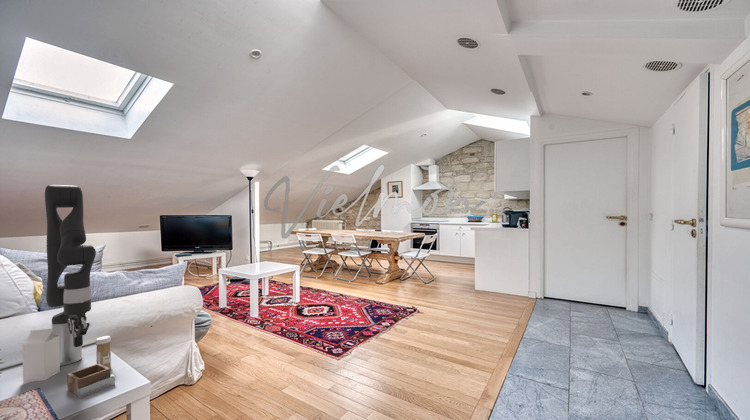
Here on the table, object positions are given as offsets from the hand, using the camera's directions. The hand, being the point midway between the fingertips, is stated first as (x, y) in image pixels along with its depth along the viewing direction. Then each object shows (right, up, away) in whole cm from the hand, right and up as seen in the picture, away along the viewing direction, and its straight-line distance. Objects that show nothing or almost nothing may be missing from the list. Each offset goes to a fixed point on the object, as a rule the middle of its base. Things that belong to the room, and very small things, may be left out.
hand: (78, 346), depth 121 cm
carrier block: (+8, -13, -5) cm, 16 cm away
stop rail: (+13, -13, -7) cm, 20 cm away
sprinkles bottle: (+2, -14, +9) cm, 17 cm away
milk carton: (-17, -14, +4) cm, 22 cm away
